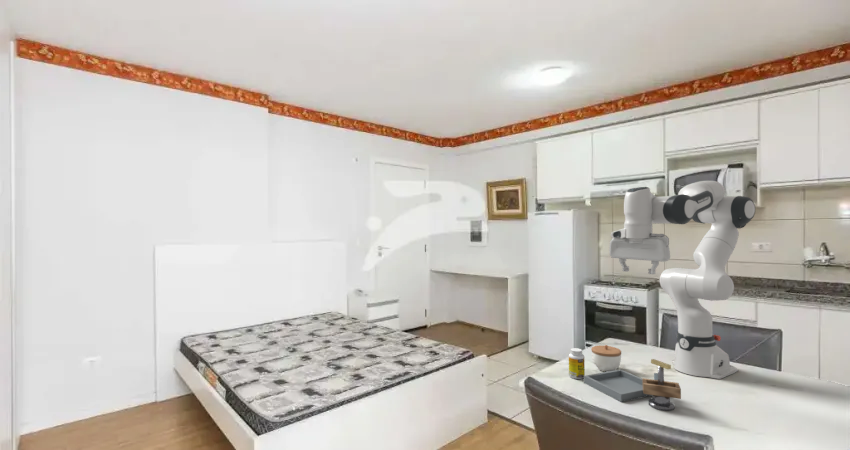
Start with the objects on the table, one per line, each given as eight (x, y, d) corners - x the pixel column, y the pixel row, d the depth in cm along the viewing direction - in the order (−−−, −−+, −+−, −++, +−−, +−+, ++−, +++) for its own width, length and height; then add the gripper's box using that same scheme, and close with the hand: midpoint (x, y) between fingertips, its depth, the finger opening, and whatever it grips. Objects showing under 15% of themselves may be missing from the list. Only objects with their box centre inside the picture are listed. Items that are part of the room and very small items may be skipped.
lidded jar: (623, 367, 161) (622, 343, 161) (619, 376, 152) (619, 351, 152) (594, 362, 167) (594, 339, 167) (589, 371, 158) (588, 347, 158)
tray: (620, 375, 152) (620, 369, 152) (660, 393, 136) (660, 386, 136) (583, 382, 147) (583, 375, 146) (621, 402, 131) (621, 394, 131)
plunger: (643, 402, 130) (642, 360, 130) (659, 399, 132) (659, 357, 132) (662, 412, 123) (662, 367, 123) (679, 408, 126) (679, 364, 125)
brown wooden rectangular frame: (675, 384, 134) (675, 375, 134) (680, 399, 123) (680, 389, 123) (641, 380, 138) (641, 371, 138) (643, 393, 127) (643, 384, 127)
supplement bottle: (578, 380, 148) (578, 352, 148) (565, 376, 153) (565, 349, 153) (587, 377, 151) (587, 350, 151) (575, 373, 156) (574, 346, 156)
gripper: (673, 233, 136) (674, 274, 136) (616, 232, 153) (617, 269, 153) (663, 234, 132) (664, 276, 132) (606, 233, 150) (607, 270, 150)
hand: (638, 272), depth 143 cm, fingers open, 8 cm apart
